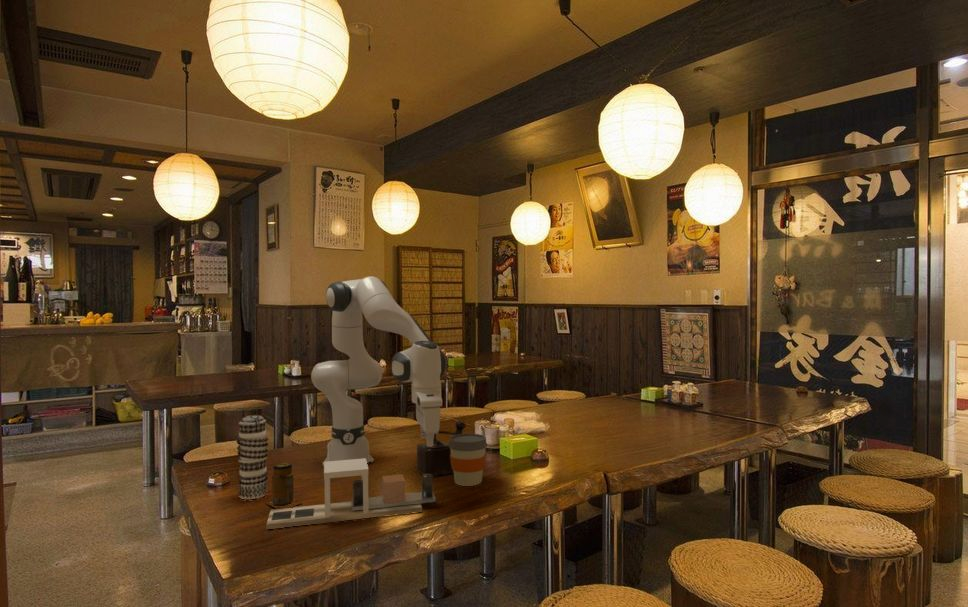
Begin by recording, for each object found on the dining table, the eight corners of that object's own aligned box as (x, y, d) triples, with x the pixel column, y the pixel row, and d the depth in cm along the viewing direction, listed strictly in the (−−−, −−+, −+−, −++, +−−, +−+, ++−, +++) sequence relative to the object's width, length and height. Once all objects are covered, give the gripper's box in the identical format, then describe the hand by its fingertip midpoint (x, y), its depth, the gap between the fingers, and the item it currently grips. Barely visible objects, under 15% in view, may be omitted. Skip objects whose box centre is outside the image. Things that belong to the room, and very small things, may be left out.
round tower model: (232, 495, 175) (231, 417, 175) (261, 488, 181) (260, 412, 181) (244, 503, 168) (242, 421, 168) (273, 495, 175) (272, 416, 175)
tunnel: (325, 504, 163) (324, 461, 163) (366, 499, 166) (366, 458, 166) (324, 518, 152) (323, 472, 152) (369, 513, 156) (368, 468, 155)
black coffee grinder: (427, 478, 190) (426, 426, 190) (416, 470, 200) (415, 420, 200) (468, 472, 197) (467, 421, 197) (455, 463, 207) (455, 415, 206)
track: (270, 515, 159) (270, 509, 159) (416, 499, 170) (416, 494, 170) (266, 530, 148) (266, 524, 148) (422, 512, 160) (422, 507, 160)
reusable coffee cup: (466, 474, 194) (466, 431, 194) (494, 481, 186) (494, 436, 186) (441, 483, 184) (441, 438, 184) (470, 491, 176) (469, 444, 176)
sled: (351, 502, 163) (351, 478, 163) (432, 494, 169) (431, 471, 169) (352, 510, 156) (351, 486, 156) (435, 501, 163) (435, 477, 163)
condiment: (288, 498, 173) (287, 459, 172) (302, 504, 167) (301, 465, 167) (265, 504, 167) (265, 465, 167) (279, 511, 161) (278, 470, 161)
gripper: (411, 390, 174) (411, 434, 175) (421, 402, 155) (421, 452, 155) (430, 389, 176) (431, 432, 176) (443, 401, 156) (444, 450, 157)
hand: (426, 441), depth 166 cm, fingers open, 8 cm apart
